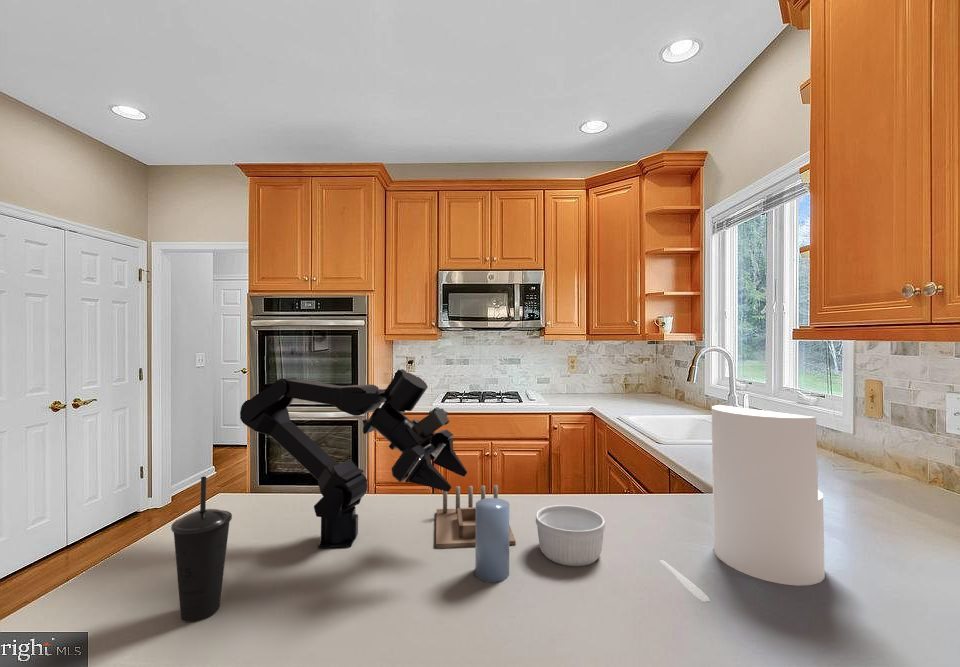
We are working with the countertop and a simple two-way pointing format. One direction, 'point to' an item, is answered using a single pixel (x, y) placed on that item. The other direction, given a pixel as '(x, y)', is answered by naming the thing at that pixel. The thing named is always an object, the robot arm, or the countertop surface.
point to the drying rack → (460, 522)
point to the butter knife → (687, 584)
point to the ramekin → (570, 534)
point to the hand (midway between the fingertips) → (458, 481)
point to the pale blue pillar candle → (492, 540)
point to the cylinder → (767, 495)
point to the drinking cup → (200, 559)
